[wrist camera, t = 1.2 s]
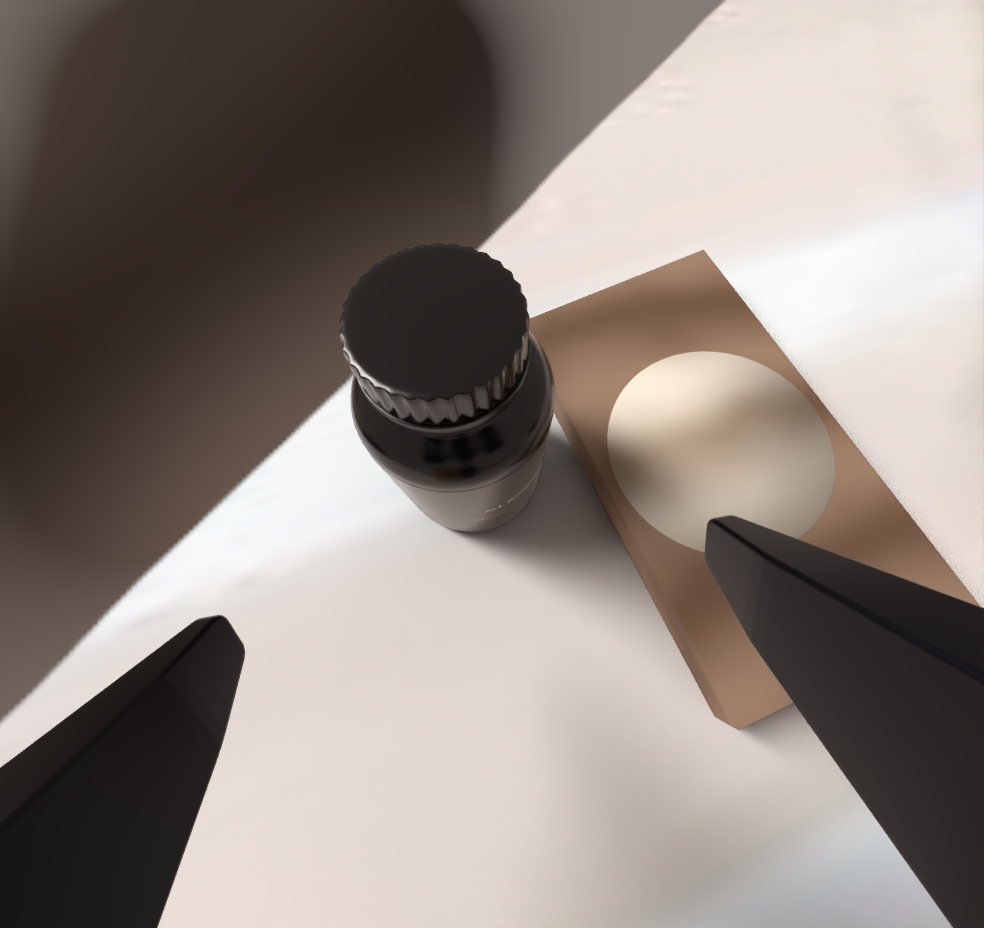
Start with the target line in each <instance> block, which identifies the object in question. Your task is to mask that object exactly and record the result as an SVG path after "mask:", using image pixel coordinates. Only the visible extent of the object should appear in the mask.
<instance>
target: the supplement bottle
mask: <svg viewBox="0 0 984 928" xmlns="http://www.w3.org/2000/svg"><path fill="white" fill-rule="evenodd" d="M343 309H344V312H343V314H342V315H341V317H340V323H341V326H342V327H341V330H340V333H339V336H340V339H341V341H342V343H343V345H342V351H343V354H344V356H345V357H346V359H347V360H348V362H349V366H350V368H351V370H352V372H353V373H354V376H353V381H352V387H351V411H352V417H353V421H354V425H355V428H356V430H357V433H358V435H359V437H360V439H361V441H362V443H363V445H364V446H365V448H366V449H367V450H368V452H369V453H370V455H371V456H372V457H373V459H374V460H375V461H376V462H377V463H378V464H379V465H380V467H381V468H382V469H383V470H384V471H385V472H386V473H387V474H388V475H389V476H390V478H391V479H392V480H393V481H394V482H395V483H396V484H397V485H398V486H399V487H400V488H401V490H402V491H403V492H404V493H405V494H406V495H407V496H408V497H409V498H410V499H411V501H412V502H413V503H414V504H415V505H416V506H417V507H418V508H419V509H420V510H421V511H422V512H423V513H424V514H425V515H426V516H428V517H429V518H430V519H432V520H433V521H435V522H436V523H438V524H440V525H442V526H444V527H447V528H450V529H453V530H457V531H464V532H477V531H484V530H488V529H492V528H495V527H498V526H500V525H502V524H504V523H506V522H507V521H509V520H511V519H512V518H513V517H515V516H516V515H517V514H518V513H519V512H520V511H521V510H522V509H523V508H524V507H525V506H526V504H527V503H528V501H529V500H530V498H531V496H532V495H533V493H534V490H535V488H536V485H537V482H538V479H539V475H540V471H541V466H542V462H543V457H544V453H545V448H546V444H547V439H548V435H549V430H550V426H551V421H552V417H553V412H554V403H555V383H554V376H553V372H552V368H551V365H550V362H549V359H548V357H547V355H546V353H545V351H544V349H543V348H542V346H541V345H540V343H539V342H538V340H537V339H536V338H535V336H534V335H533V334H532V333H531V332H530V331H529V322H530V318H529V314H528V312H527V300H526V298H525V296H524V295H523V294H522V290H521V285H520V284H519V283H518V282H517V281H515V280H514V278H513V274H512V272H511V271H509V270H507V269H505V268H504V267H503V265H502V263H501V262H500V261H498V260H495V259H492V258H491V257H490V256H489V255H488V254H487V253H484V252H478V251H476V250H475V249H473V248H472V247H461V246H459V245H457V244H448V245H444V244H440V243H435V244H432V245H419V246H416V247H415V248H412V249H403V250H401V251H400V252H399V253H398V254H394V255H390V256H387V257H386V258H385V259H384V260H383V261H382V262H380V263H377V264H375V265H373V266H372V267H371V269H370V270H369V272H367V273H365V274H364V275H362V276H361V277H360V278H359V280H358V283H357V284H356V285H355V286H354V287H353V288H352V289H351V290H350V293H349V298H348V299H347V300H346V301H345V302H344V304H343Z"/></svg>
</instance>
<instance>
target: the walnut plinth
mask: <svg viewBox="0 0 984 928" xmlns="http://www.w3.org/2000/svg"><path fill="white" fill-rule="evenodd" d="M529 331H530V332H531V333H532V334H533V335H534V336H535V338H536V339H537V340H538V342H539V343H540V345H541V346H542V348H543V349H544V351H545V353H546V355H547V357H548V359H549V362H550V365H551V368H552V372H553V376H554V383H555V403H554V414H555V416H556V418H557V420H558V421H559V423H560V425H561V427H562V429H563V431H564V433H565V435H566V437H567V438H568V440H569V442H570V444H571V446H572V448H573V450H574V452H575V454H576V455H577V457H578V459H579V461H580V463H581V465H582V467H583V469H584V471H585V472H586V474H587V476H588V478H589V480H590V482H591V484H592V486H593V488H594V489H595V491H596V493H597V495H598V497H599V499H600V501H601V503H602V505H603V506H604V508H605V510H606V512H607V514H608V516H609V518H610V520H611V522H612V523H613V525H614V527H615V529H616V531H617V533H618V535H619V537H620V539H621V540H622V542H623V544H624V546H625V548H626V550H627V552H628V554H629V556H630V557H631V559H632V561H633V563H634V565H635V567H636V569H637V571H638V573H639V574H640V576H641V578H642V580H643V582H644V584H645V586H646V588H647V590H648V591H649V593H650V595H651V597H652V599H653V601H654V603H655V605H656V607H657V608H658V610H659V612H660V614H661V616H662V618H663V620H664V622H665V624H666V625H667V627H668V629H669V631H670V633H671V635H672V637H673V639H674V640H675V642H676V644H677V646H678V648H679V650H680V652H681V654H682V656H683V657H684V659H685V661H686V663H687V665H688V667H689V669H690V671H691V673H692V674H693V676H694V678H695V680H696V682H697V684H698V686H699V688H700V690H701V691H702V693H703V695H704V697H705V699H706V701H707V703H708V705H709V707H710V708H711V710H712V712H713V714H714V716H715V717H717V718H718V719H720V720H722V721H724V722H725V723H727V724H729V725H731V726H732V727H734V728H736V729H738V730H740V729H742V728H744V727H746V726H748V725H750V724H752V723H754V722H756V721H758V720H760V719H762V718H764V717H766V716H768V715H770V714H772V713H774V712H776V711H778V710H780V709H782V708H784V707H786V706H788V705H790V704H792V703H793V701H792V700H791V698H790V697H789V696H788V694H787V693H786V691H785V690H784V689H783V687H782V686H781V684H780V683H779V682H778V680H777V679H776V677H775V676H774V674H773V673H772V672H771V670H770V669H769V667H768V666H767V665H766V663H765V662H764V660H763V659H762V658H761V656H760V655H759V653H758V652H757V650H756V649H755V647H754V646H753V644H752V643H751V641H750V640H749V638H748V637H747V635H746V633H745V632H744V630H743V628H742V626H741V625H740V623H739V621H738V619H737V618H736V616H735V614H734V612H733V611H732V609H731V607H730V605H729V603H728V602H727V600H726V598H725V596H724V595H723V593H722V591H721V589H720V588H719V586H718V584H717V582H716V580H715V579H714V577H713V575H712V573H711V572H710V570H709V568H708V566H707V564H706V560H705V541H706V528H707V523H708V521H709V520H710V519H712V518H717V517H722V516H727V515H734V516H737V517H740V518H742V519H745V520H748V521H750V522H753V523H756V524H759V525H761V526H764V527H767V528H769V529H772V530H775V531H777V532H780V533H783V534H786V535H788V536H791V537H794V538H796V539H799V540H802V541H804V542H807V543H810V544H813V545H815V546H818V547H821V548H823V549H826V550H829V551H831V552H834V553H837V554H840V555H842V556H845V557H848V558H850V559H853V560H856V561H858V562H861V563H864V564H867V565H869V566H872V567H875V568H877V569H880V570H883V571H885V572H888V573H891V574H893V575H896V576H899V577H902V578H904V579H907V580H910V581H912V582H915V583H918V584H920V585H923V586H926V587H929V588H931V589H934V590H937V591H939V592H942V593H945V594H947V595H950V596H953V597H956V598H958V599H961V600H964V601H966V602H969V603H972V604H974V605H977V606H980V605H979V604H978V603H977V601H976V600H975V599H974V597H973V596H972V595H971V593H970V592H969V591H968V590H967V588H966V587H965V586H964V584H963V583H962V582H961V581H960V579H959V578H958V577H957V575H956V574H955V573H954V572H953V570H952V569H951V568H950V566H949V565H948V564H947V563H946V561H945V560H944V559H943V557H942V556H941V555H940V554H939V552H938V551H937V550H936V548H935V547H934V546H933V545H932V543H931V542H930V541H929V539H928V538H927V537H926V536H925V534H924V533H923V532H922V530H921V529H920V528H919V527H918V525H917V524H916V523H915V521H914V520H913V519H912V518H911V516H910V515H909V514H908V512H907V511H906V510H905V508H904V507H903V506H902V505H901V503H900V502H899V501H898V499H897V498H896V497H895V496H894V494H893V493H892V492H891V490H890V489H889V488H888V487H887V485H886V484H885V483H884V481H883V480H882V479H881V478H880V476H879V475H878V474H877V472H876V471H875V470H874V469H873V467H872V466H871V465H870V463H869V462H868V461H867V460H866V458H865V457H864V456H863V454H862V453H861V452H860V451H859V449H858V448H857V447H856V445H855V444H854V443H853V442H852V440H851V439H850V438H849V436H848V435H847V434H846V432H845V431H844V430H843V429H842V427H841V426H840V425H839V423H838V422H837V421H836V420H835V418H834V417H833V416H832V414H831V413H830V412H829V411H828V409H827V408H826V407H825V405H824V404H823V403H822V402H821V400H820V399H819V398H818V396H817V395H816V394H815V393H814V391H813V390H812V389H811V387H810V386H809V385H808V384H807V382H806V381H805V380H804V378H803V377H802V376H801V375H800V373H799V372H798V371H797V369H796V368H795V367H794V366H793V364H792V363H791V362H790V360H789V359H788V358H787V356H786V355H785V354H784V353H783V351H782V350H781V349H780V347H779V346H778V345H777V344H776V342H775V341H774V340H773V338H772V337H771V336H770V335H769V333H768V332H767V331H766V329H765V328H764V327H763V326H762V324H761V323H760V322H759V320H758V319H757V318H756V317H755V315H754V314H753V313H752V311H751V310H750V309H749V308H748V306H747V305H746V304H745V302H744V301H743V300H742V299H741V297H740V296H739V295H738V293H737V292H736V291H735V290H734V288H733V287H732V286H731V284H730V283H729V282H728V281H727V279H726V278H725V277H724V275H723V274H722V273H721V271H720V270H719V269H718V268H717V266H716V265H715V264H714V262H713V261H712V260H711V259H710V257H709V256H708V255H707V253H706V252H705V251H704V250H702V251H699V252H697V253H694V254H692V255H689V256H687V257H684V258H682V259H679V260H677V261H674V262H671V263H669V264H666V265H664V266H661V267H659V268H656V269H654V270H651V271H649V272H646V273H644V274H641V275H639V276H636V277H634V278H631V279H629V280H626V281H624V282H621V283H619V284H616V285H614V286H611V287H609V288H606V289H603V290H601V291H598V292H596V293H593V294H591V295H588V296H586V297H583V298H581V299H578V300H576V301H573V302H571V303H568V304H566V305H563V306H561V307H558V308H556V309H553V310H551V311H548V312H546V313H543V314H540V315H538V316H535V317H533V318H530V322H529ZM980 607H981V606H980Z"/></svg>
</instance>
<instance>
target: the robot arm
mask: <svg viewBox="0 0 984 928" xmlns="http://www.w3.org/2000/svg"><path fill="white" fill-rule="evenodd" d="M705 560H706V564H707V566H708V568H709V570H710V572H711V573H712V575H713V577H714V579H715V580H716V582H717V584H718V586H719V588H720V589H721V591H722V593H723V595H724V596H725V598H726V600H727V602H728V603H729V605H730V607H731V609H732V611H733V612H734V614H735V616H736V618H737V619H738V621H739V623H740V625H741V626H742V628H743V630H744V632H745V633H746V635H747V637H748V638H749V640H750V641H751V643H752V644H753V646H754V647H755V649H756V650H757V652H758V653H759V655H760V656H761V658H762V659H763V660H764V662H765V663H766V665H767V666H768V667H769V669H770V670H771V672H772V673H773V674H774V676H775V677H776V679H777V680H778V682H779V683H780V684H781V686H782V687H783V689H784V690H785V691H786V693H787V694H788V696H789V697H790V698H791V700H792V701H793V703H794V704H795V706H796V707H797V708H798V710H799V711H800V713H801V714H802V715H803V717H804V718H805V720H806V721H807V722H808V724H809V725H810V727H811V728H812V730H813V731H814V732H815V734H816V735H817V737H818V738H819V739H820V741H821V742H822V744H823V745H824V746H825V748H826V749H827V751H828V752H829V754H830V755H831V756H832V758H833V759H834V761H835V762H836V763H837V765H838V766H839V768H840V769H841V770H842V772H843V773H844V775H845V776H846V778H847V779H848V780H849V782H850V783H851V785H852V786H853V787H854V789H855V790H856V792H857V793H858V794H859V796H860V797H861V799H862V800H863V802H864V803H865V804H866V806H867V807H868V809H869V810H870V811H871V813H872V814H873V816H874V817H875V818H876V820H877V821H878V823H879V824H880V826H881V827H882V828H883V830H884V831H885V833H886V834H887V835H888V837H889V838H890V840H891V841H892V843H893V844H894V845H895V847H896V848H897V850H898V851H899V852H900V854H901V855H902V857H903V858H904V859H905V861H906V862H907V864H908V865H909V867H910V868H911V869H912V871H913V872H914V874H915V875H916V876H917V878H918V879H919V881H920V882H921V883H922V885H923V886H924V888H925V889H926V891H927V892H928V893H929V895H930V896H931V898H932V899H933V900H934V902H935V903H936V905H937V906H938V907H939V909H940V910H941V912H942V913H943V915H944V916H945V917H946V919H947V920H948V922H949V923H950V924H951V926H952V927H953V928H984V608H983V607H980V606H977V605H974V604H972V603H969V602H966V601H964V600H961V599H958V598H956V597H953V596H950V595H947V594H945V593H942V592H939V591H937V590H934V589H931V588H929V587H926V586H923V585H920V584H918V583H915V582H912V581H910V580H907V579H904V578H902V577H899V576H896V575H893V574H891V573H888V572H885V571H883V570H880V569H877V568H875V567H872V566H869V565H867V564H864V563H861V562H858V561H856V560H853V559H850V558H848V557H845V556H842V555H840V554H837V553H834V552H831V551H829V550H826V549H823V548H821V547H818V546H815V545H813V544H810V543H807V542H804V541H802V540H799V539H796V538H794V537H791V536H788V535H786V534H783V533H780V532H777V531H775V530H772V529H769V528H767V527H764V526H761V525H759V524H756V523H753V522H750V521H748V520H745V519H742V518H740V517H737V516H734V515H727V516H722V517H717V518H712V519H710V520H709V521H708V523H707V528H706V541H705ZM244 658H245V649H244V645H243V643H242V641H241V640H240V638H239V637H238V635H237V633H236V632H235V630H234V629H233V627H232V626H231V624H230V622H229V621H228V619H227V618H226V617H224V616H222V615H215V616H210V617H205V618H200V619H198V620H195V621H194V622H193V623H191V624H190V625H189V626H187V627H186V628H185V629H183V630H182V631H181V632H179V633H178V634H177V635H175V636H174V637H173V638H171V639H170V640H169V641H167V642H166V643H165V644H163V645H162V646H161V647H159V648H158V649H157V650H156V651H154V652H153V653H152V654H150V655H149V656H148V657H146V658H145V659H144V660H142V661H141V662H140V663H138V664H137V665H136V666H134V667H133V668H132V669H130V670H129V671H128V672H126V673H125V674H124V675H122V676H121V677H120V678H119V679H117V680H116V681H115V682H113V683H112V684H111V685H109V686H108V687H107V688H105V689H104V690H103V691H101V692H100V693H99V694H97V695H96V696H95V697H93V698H92V699H91V700H89V701H88V702H87V703H85V704H84V705H83V706H81V707H80V708H79V709H78V710H76V711H75V712H74V713H72V714H71V715H70V716H68V717H67V718H66V719H64V720H63V721H62V722H60V723H59V724H58V725H56V726H55V727H54V728H52V729H51V730H50V731H48V732H47V733H46V734H44V735H43V736H42V737H41V738H39V739H38V740H37V741H35V742H34V743H33V744H31V745H30V746H29V747H27V748H26V749H25V750H23V751H22V752H21V753H19V754H18V755H17V756H15V757H14V758H13V759H11V760H10V761H9V762H7V763H6V764H5V765H3V766H2V767H1V768H0V928H157V927H158V925H159V922H160V919H161V916H162V913H163V911H164V908H165V905H166V902H167V899H168V897H169V894H170V891H171V888H172V885H173V883H174V880H175V877H176V874H177V871H178V868H179V866H180V863H181V860H182V857H183V854H184V852H185V849H186V846H187V843H188V840H189V838H190V835H191V832H192V829H193V826H194V823H195V821H196V818H197V815H198V812H199V809H200V807H201V804H202V801H203V798H204V795H205V793H206V790H207V787H208V784H209V781H210V779H211V776H212V773H213V770H214V767H215V764H216V762H217V759H218V756H219V753H220V750H221V747H222V743H223V739H224V736H225V733H226V729H227V725H228V721H229V717H230V713H231V709H232V705H233V701H234V698H235V694H236V690H237V686H238V682H239V678H240V674H241V670H242V666H243V662H244Z"/></svg>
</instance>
